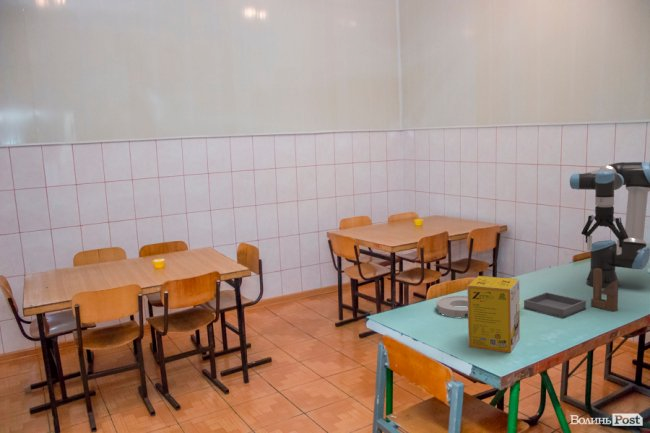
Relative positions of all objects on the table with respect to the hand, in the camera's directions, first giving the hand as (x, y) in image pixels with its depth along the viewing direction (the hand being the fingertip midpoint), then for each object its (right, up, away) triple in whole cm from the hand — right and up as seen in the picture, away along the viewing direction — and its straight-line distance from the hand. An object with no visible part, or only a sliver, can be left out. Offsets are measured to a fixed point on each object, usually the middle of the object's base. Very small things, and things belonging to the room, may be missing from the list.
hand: (603, 252), depth 250 cm
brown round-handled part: (+2, -26, +4) cm, 27 cm away
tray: (-20, -27, +7) cm, 34 cm away
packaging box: (-59, -35, -29) cm, 74 cm away
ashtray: (-62, -29, +13) cm, 69 cm away
